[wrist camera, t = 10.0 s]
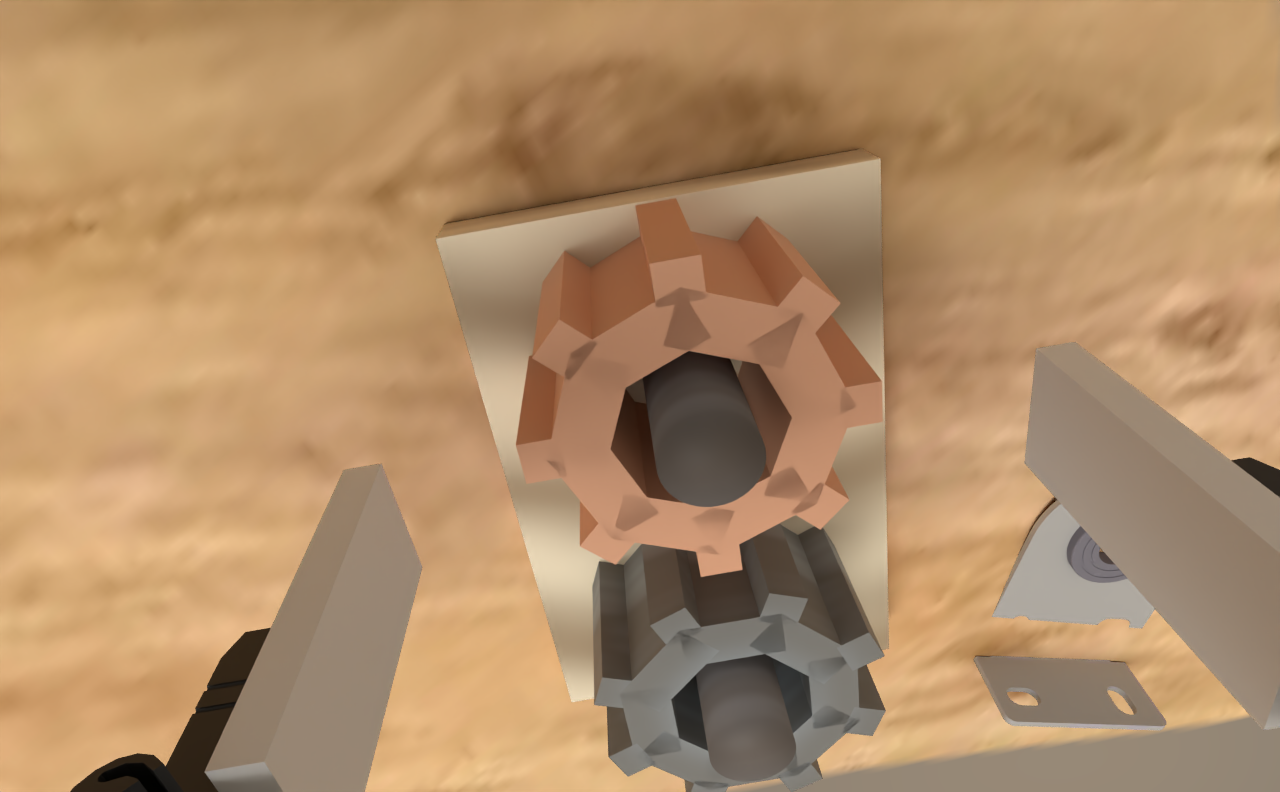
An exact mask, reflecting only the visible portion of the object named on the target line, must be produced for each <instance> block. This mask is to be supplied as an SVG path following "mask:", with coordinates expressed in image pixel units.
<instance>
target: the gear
mask: <svg viewBox="0 0 1280 792" xmlns="http://www.w3.org/2000/svg"><path fill="white" fill-rule="evenodd" d="M635 208H636V214H637V220H638V226H639V232H640V237H638V238H637V239H635V240H633V241H632V242H630V243H629V244H627V245H625V246H624V247H622V248H621V249H619V250H618V251H616V252H614V253H613V254H611V255H610V256H608V257H606V258H605V259H603V260H602V261H600V262H598V263H597V264H595V265H594V266H592V267H588V266H587V265H585V264H584V263H582V262H581V261H579V260H578V259H576V258H575V257H573V256H572V255H570V254H569V253H567V252H566V251H564V252H563V253H562V255H561V256H560V258H559V259H558V261H557V262H556V264H555V265H554V266H553V268H552V269H551V271H550V272H549V274H548V275H547V277H546V278H545V280H544V281H543V283H542V290H541V297H540V304H539V311H538V318H537V326H536V333H535V340H534V347H533V354H532V356H529V359H528V365H527V372H526V379H525V386H524V392H523V399H522V406H521V413H520V419H519V426H518V433H517V440H516V448H517V452H518V455H519V459H520V463H521V466H522V470H523V473H524V477H525V480H526V484H530V483H535V482H541V481H547V480H553V479H558V478H562V479H563V481H564V482H565V483H566V484H567V485H568V487H569V488H570V489H571V490H572V491H573V493H574V494H575V495H576V496H577V498H578V499H579V500H580V547H582V548H584V549H586V550H588V551H590V552H591V553H593V554H595V555H597V556H599V557H601V558H603V559H605V560H607V561H609V562H611V563H613V564H615V565H616V564H617V563H618V562H619V560H620V559H621V558H622V557H623V556H624V555H625V553H626V552H627V551H628V550H629V549H630V548H631V546H632V545H633V544H634V543H641V544H647V545H654V546H661V547H668V548H675V549H682V550H688V551H695V552H696V555H697V560H698V565H699V570H700V575H701V577H704V576H710V575H715V574H721V573H727V572H733V571H739V570H742V562H741V555H740V547H739V544H741V543H743V542H745V541H747V540H749V539H750V538H752V537H754V536H756V535H758V534H760V533H762V532H764V531H766V530H768V529H770V528H772V527H773V526H775V525H777V524H779V523H781V522H783V521H785V520H787V519H789V518H791V517H793V516H795V515H797V516H798V517H800V518H802V519H803V520H805V521H807V522H808V523H810V524H812V525H813V526H815V527H817V528H818V529H820V530H821V529H822V528H823V527H824V526H825V525H826V524H827V523H828V522H829V520H830V519H831V518H832V517H833V516H834V515H835V514H836V513H837V512H838V511H839V510H840V509H841V508H842V507H843V506H844V505H845V504H846V503H847V502H848V501H849V498H848V496H847V494H846V492H845V490H844V488H843V486H842V484H841V482H840V481H839V479H838V477H837V475H836V473H835V471H834V469H833V467H832V465H833V462H834V460H835V457H836V455H837V452H838V450H839V448H840V445H841V443H842V440H843V438H844V435H845V433H846V430H847V428H851V427H856V426H862V425H868V424H874V423H879V422H883V410H882V381H881V379H880V378H879V377H878V375H877V374H876V373H875V371H874V370H873V369H872V367H871V366H870V365H869V364H868V362H867V361H866V360H865V358H864V357H863V356H862V354H861V353H860V352H859V350H858V349H857V348H856V347H855V345H854V344H853V343H852V341H851V340H850V339H849V337H848V336H847V335H846V334H845V332H844V331H843V330H842V328H841V327H840V326H839V324H838V323H837V322H836V320H835V319H834V318H833V317H832V315H831V314H832V313H833V312H834V311H835V310H836V308H837V307H838V306H839V305H840V304H841V303H840V302H839V301H838V299H837V298H836V297H835V296H834V295H833V293H832V292H831V291H830V290H829V288H828V287H827V286H826V285H825V284H824V282H823V281H822V280H821V279H820V278H819V276H818V275H817V274H816V273H815V271H814V270H813V269H812V268H811V267H810V265H809V264H808V263H807V262H806V261H805V259H804V258H803V257H802V256H801V254H800V253H799V252H798V251H797V250H796V248H795V247H794V246H793V245H792V244H791V242H790V241H789V240H788V239H787V238H786V237H785V236H783V235H782V234H780V233H779V232H778V231H776V230H775V229H774V228H772V227H771V226H770V225H768V224H767V223H766V222H764V221H763V220H762V219H760V218H759V217H758V216H757V217H756V218H755V219H754V221H753V222H752V223H751V224H750V226H749V227H748V228H747V230H746V231H745V232H744V233H743V235H742V236H741V237H740V239H739V240H738V241H734V240H729V239H724V238H720V237H715V236H710V235H706V234H701V233H696V232H692V231H690V228H689V226H688V224H687V222H686V220H685V217H684V215H683V213H682V211H681V208H680V206H679V204H678V202H677V199H676V198H673V199H668V200H662V201H657V202H651V203H646V204H640V205H635ZM688 351H692V352H698V353H703V354H708V355H714V356H719V357H724V358H729V359H735V360H740V361H742V365H741V368H740V371H739V374H738V379H739V382H740V384H741V387H742V389H743V392H744V394H745V397H746V399H747V402H748V404H749V407H750V409H751V412H752V414H753V417H754V419H755V422H756V424H757V427H758V429H759V432H760V434H761V437H762V439H763V442H764V445H765V449H766V464H765V468H764V471H763V473H762V475H761V477H760V479H759V480H758V482H757V483H756V485H755V486H754V487H753V488H752V489H751V490H750V491H749V492H748V493H746V494H745V495H744V496H742V497H740V498H739V499H737V500H735V501H733V502H731V503H728V504H725V505H720V506H714V507H699V506H693V505H689V504H686V503H684V502H682V501H679V500H678V499H676V498H675V497H673V496H672V495H671V494H670V493H668V492H667V490H666V489H665V488H664V487H663V485H662V484H661V482H660V479H659V477H658V474H657V469H656V462H655V456H654V449H653V443H652V436H651V430H650V423H649V417H648V410H647V404H645V403H639V402H635V401H634V400H633V398H632V397H631V396H630V394H629V393H628V391H627V390H626V387H628V386H630V385H631V384H633V383H635V382H636V381H638V380H640V379H642V378H643V377H645V376H647V375H648V374H650V373H652V372H653V371H655V370H657V369H659V368H660V367H662V366H664V365H665V364H667V363H669V362H671V361H672V360H674V359H676V358H677V357H679V356H681V355H682V354H684V353H686V352H688Z"/></svg>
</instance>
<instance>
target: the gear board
mask: <svg viewBox="0 0 1280 792" xmlns="http://www.w3.org/2000/svg"><path fill="white" fill-rule="evenodd" d="M673 198H676V199H677V202H678V204H679V206H680V208H681V211H682V213H683V215H684V217H685V220H686V222H687V224H688V226H689V228H690V231H692V232H696V233H701V234H706V235H710V236H715V237H720V238H724V239H729V240H734V241H738V240H739V239H740V237H741V236H742V235H743V233H744V232H745V231H746V230H747V228H748V227H749V226H750V224H751V223H752V222H753V221H754V219H755V218H756V217H757V216H758V217H759V218H760V219H762V220H763V221H764V222H766V223H767V224H768V225H770V226H771V227H772V228H774V229H775V230H776V231H778V232H779V233H780V234H782V235H783V236H785V237H786V238H787V239H788V240H789V241H790V242H791V244H792V245H793V246H794V247H795V248H796V250H797V251H798V252H799V253H800V254H801V256H802V257H803V258H804V259H805V261H806V262H807V263H808V264H809V265H810V267H811V268H812V269H813V270H814V271H815V273H816V274H817V275H818V276H819V278H820V279H821V280H822V281H823V282H824V284H825V285H826V286H827V287H828V288H829V290H830V291H831V292H832V293H833V295H834V296H835V297H836V298H837V299H838V301H839V302H840V303H841V304H840V305H839V306H838V307H837V308H836V310H835V311H834V312H833V313H832V314H831V315H832V317H833V318H834V319H835V320H836V322H837V323H838V324H839V326H840V327H841V328H842V330H843V331H844V332H845V334H846V335H847V336H848V337H849V339H850V340H851V341H852V343H853V344H854V345H855V347H856V348H857V349H858V350H859V352H860V353H861V354H862V356H863V357H864V358H865V360H866V361H867V362H868V364H869V365H870V366H871V367H872V369H873V370H874V371H875V373H876V374H877V375H878V377H879V378H880V379H881V381H882V410H883V422H879V423H874V424H868V425H862V426H856V427H851V428H847V430H846V433H845V435H844V438H843V440H842V443H841V445H840V448H839V450H838V452H837V455H836V457H835V460H834V462H833V465H832V467H833V469H834V471H835V473H836V475H837V477H838V479H839V481H840V482H841V484H842V486H843V488H844V490H845V492H846V494H847V496H848V498H849V501H848V502H847V503H846V504H845V505H844V506H843V507H842V508H841V509H840V510H839V511H838V512H837V513H836V514H835V515H834V516H833V517H832V518H831V519H830V520H829V522H828V523H827V524H826V525H825V526H824V527H823V528H822V529H821V530H820V529H818V528H817V527H815V526H813V525H812V524H810V523H808V522H807V521H805V520H803V519H802V518H800V517H798V516H797V515H795V516H793V517H791V518H789V519H787V520H785V521H783V522H781V523H779V524H777V525H775V526H773V527H772V528H770V529H768V530H766V531H764V532H762V533H760V534H758V535H756V536H754V537H752V538H750V539H749V540H747V541H745V542H743V543H741V544H739V547H740V555H741V562H742V570H739V571H733V572H727V573H721V574H715V575H710V576H704V577H701V575H700V570H699V565H698V560H697V555H696V552H695V551H688V550H682V549H675V548H668V547H661V546H654V545H647V544H641V543H634V544H633V545H632V546H631V548H630V549H629V550H628V551H627V552H626V553H625V555H624V556H623V557H622V558H621V559H620V560H619V562H618V563H617V564H616V565H615V564H613V563H611V562H609V561H607V560H605V559H603V558H601V557H599V556H597V555H595V554H593V553H591V552H590V551H588V550H586V549H584V548H582V547H580V500H579V499H578V498H577V496H576V495H575V494H574V493H573V491H572V490H571V489H570V488H569V487H568V485H567V484H566V483H565V482H564V481H563V479H562V478H558V479H553V480H547V481H541V482H535V483H530V484H526V480H525V477H524V473H523V470H522V466H521V463H520V459H519V455H518V452H517V448H516V440H517V433H518V426H519V419H520V413H521V406H522V399H523V392H524V386H525V379H526V372H527V365H528V359H529V356H532V354H533V347H534V340H535V333H536V326H537V318H538V311H539V304H540V297H541V290H542V283H543V281H544V280H545V278H546V277H547V275H548V274H549V272H550V271H551V269H552V268H553V266H554V265H555V264H556V262H557V261H558V259H559V258H560V256H561V255H562V253H563V252H564V251H566V252H567V253H569V254H570V255H572V256H573V257H575V258H576V259H578V260H579V261H581V262H582V263H584V264H585V265H587V266H588V267H592V266H594V265H595V264H597V263H598V262H600V261H602V260H603V259H605V258H606V257H608V256H610V255H611V254H613V253H614V252H616V251H618V250H619V249H621V248H622V247H624V246H625V245H627V244H629V243H630V242H632V241H633V240H635V239H637V238H638V237H640V232H639V226H638V220H637V214H636V208H635V205H640V204H646V203H651V202H657V201H662V200H668V199H673ZM436 242H437V246H438V249H439V253H440V256H441V259H442V263H443V266H444V270H445V273H446V276H447V280H448V283H449V287H450V290H451V293H452V297H453V300H454V304H455V307H456V310H457V314H458V317H459V321H460V324H461V327H462V331H463V334H464V338H465V341H466V344H467V348H468V351H469V355H470V358H471V361H472V365H473V368H474V372H475V375H476V378H477V382H478V385H479V389H480V392H481V395H482V399H483V402H484V406H485V409H486V412H487V416H488V419H489V423H490V426H491V429H492V433H493V436H494V440H495V443H496V446H497V450H498V453H499V457H500V460H501V463H502V467H503V470H504V474H505V477H506V480H507V484H508V487H509V491H510V494H511V497H512V501H513V504H514V508H515V511H516V514H517V518H518V521H519V525H520V528H521V531H522V535H523V538H524V542H525V545H526V548H527V552H528V555H529V559H530V562H531V565H532V569H533V572H534V576H535V579H536V582H537V586H538V589H539V593H540V596H541V599H542V603H543V606H544V610H545V613H546V616H547V620H548V623H549V627H550V630H551V633H552V637H553V640H554V644H555V647H556V650H557V654H558V657H559V661H560V664H561V667H562V671H563V674H564V678H565V681H566V684H567V688H568V691H569V695H570V698H571V701H572V702H576V701H582V700H588V699H593V698H594V705H599V706H607V725H608V755H609V758H610V759H611V760H612V761H613V762H614V763H615V764H616V765H617V766H618V767H619V768H620V769H621V770H622V771H623V772H624V773H625V774H626V775H627V776H631V775H633V774H635V773H637V772H639V771H641V770H643V769H645V768H648V767H650V766H654V767H657V768H659V769H661V770H664V771H666V772H668V773H671V774H673V775H675V776H678V777H680V778H682V779H684V780H685V788H686V792H726V790H727V788H728V787H730V786H736V785H742V784H748V783H754V782H760V781H766V780H772V779H778V778H780V779H781V781H782V782H783V783H784V784H785V785H786V786H787V788H788V789H789V790H790V791H791V792H794V791H796V790H798V789H800V788H803V787H805V786H807V785H809V784H812V783H814V782H816V781H818V780H821V779H823V778H822V775H821V771H820V768H819V765H818V761H817V758H819V757H820V756H821V755H822V754H823V753H824V752H825V751H827V750H828V749H829V748H830V747H831V746H832V745H833V744H834V743H836V742H837V741H838V740H839V739H840V738H841V737H842V736H844V735H845V734H846V733H851V734H860V735H869V736H873V734H874V732H875V730H876V728H877V726H878V724H879V723H880V721H881V719H882V717H883V715H884V713H885V711H886V710H885V708H884V705H883V703H882V701H881V698H880V696H879V694H878V691H877V689H876V686H875V684H874V682H873V679H872V677H871V675H870V672H869V670H868V667H867V664H869V663H871V662H873V661H875V660H877V659H879V658H881V657H884V654H883V651H882V650H884V649H889V622H888V563H887V505H886V446H885V387H884V329H883V270H882V211H881V159H880V158H878V157H877V156H875V155H873V154H871V153H870V152H868V151H866V150H864V149H857V150H852V151H846V152H840V153H835V154H829V155H824V156H818V157H813V158H807V159H802V160H796V161H791V162H785V163H779V164H774V165H768V166H763V167H757V168H752V169H746V170H741V171H735V172H730V173H724V174H719V175H713V176H707V177H702V178H696V179H691V180H685V181H680V182H674V183H669V184H663V185H658V186H652V187H646V188H641V189H635V190H630V191H624V192H619V193H613V194H608V195H602V196H597V197H591V198H585V199H580V200H574V201H569V202H563V203H558V204H552V205H547V206H541V207H536V208H530V209H524V210H519V211H513V212H508V213H502V214H497V215H491V216H486V217H480V218H475V219H469V220H463V221H458V222H452V223H447V224H444V225H443V227H442V229H441V230H440V232H439V234H438V235H437V237H436ZM741 365H742V361H740V360H735V359H729V358H724V357H719V356H714V355H708V354H703V353H698V352H692V351H688V352H686V353H684V354H682V355H681V356H679V357H677V358H676V359H674V360H672V361H671V362H669V363H667V364H665V365H664V366H662V367H660V368H659V369H657V370H655V371H653V372H652V373H650V374H648V375H647V376H645V377H643V378H642V379H640V380H638V381H636V382H635V383H633V384H631V385H630V386H628V387H626V390H627V391H628V393H629V394H630V396H631V397H632V398H633V400H634V401H635V402H639V403H645V404H647V410H648V417H649V423H650V430H651V436H652V443H653V449H654V456H655V462H656V469H657V474H658V477H659V479H660V482H661V484H662V485H663V487H664V488H665V489H666V490H667V492H668V493H670V494H671V495H672V496H673V497H675V498H676V499H678V500H679V501H682V502H684V503H686V504H689V505H693V506H699V507H714V506H720V505H725V504H728V503H731V502H733V501H735V500H737V499H739V498H740V497H742V496H744V495H745V494H746V493H748V492H749V491H750V490H751V489H752V488H753V487H754V486H755V485H756V483H757V482H758V480H759V479H760V477H761V475H762V473H763V471H764V468H765V464H766V449H765V445H764V442H763V439H762V437H761V434H760V432H759V429H758V427H757V424H756V422H755V419H754V417H753V414H752V412H751V409H750V407H749V404H748V402H747V399H746V397H745V394H744V392H743V389H742V387H741V384H740V382H739V379H738V374H739V371H740V368H741Z"/></svg>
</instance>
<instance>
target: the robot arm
mask: <svg viewBox="0 0 1280 792" xmlns="http://www.w3.org/2000/svg"><path fill="white" fill-rule="evenodd" d="M1025 464H1026V465H1027V466H1028V468H1029V469H1030V470H1031V471H1032V472H1033V473H1034V474H1035V475H1036V476H1037V478H1038V479H1039V480H1040V481H1041V482H1042V483H1043V484H1044V485H1045V487H1046V488H1047V489H1048V490H1049V491H1050V492H1051V493H1052V494H1053V495H1054V497H1055V498H1056V499H1057V500H1058V501H1059V502H1060V503H1061V504H1062V506H1063V507H1064V508H1065V509H1066V510H1067V511H1068V512H1069V513H1070V515H1071V516H1072V517H1073V518H1074V519H1075V520H1076V521H1077V522H1078V523H1079V525H1080V526H1081V527H1082V528H1083V529H1084V530H1085V531H1086V532H1087V534H1088V535H1089V536H1090V537H1091V538H1092V539H1093V540H1094V541H1095V542H1096V544H1097V545H1098V546H1099V547H1100V548H1101V549H1102V550H1103V551H1104V553H1105V554H1106V555H1107V556H1108V557H1109V558H1110V559H1111V560H1112V561H1113V563H1114V564H1115V565H1116V566H1117V567H1118V568H1119V569H1120V570H1121V572H1122V573H1123V574H1124V575H1125V576H1126V577H1127V578H1128V579H1129V580H1130V582H1131V583H1132V584H1133V585H1134V586H1135V587H1136V588H1137V589H1138V591H1139V592H1140V593H1141V594H1142V595H1143V596H1144V597H1145V598H1146V599H1147V601H1148V602H1149V603H1150V604H1151V605H1152V606H1153V607H1154V608H1155V610H1156V611H1157V612H1158V613H1159V614H1160V615H1161V616H1162V617H1163V618H1164V620H1165V621H1166V622H1167V623H1168V624H1169V625H1170V626H1171V627H1172V629H1173V630H1174V631H1175V632H1176V633H1177V634H1178V635H1179V636H1180V637H1181V639H1182V640H1183V641H1184V642H1185V643H1186V644H1187V645H1188V646H1189V648H1190V649H1191V650H1192V651H1193V652H1194V653H1195V654H1196V655H1197V656H1198V658H1199V659H1200V660H1201V661H1202V662H1203V663H1204V664H1205V665H1206V667H1207V668H1208V669H1209V670H1210V671H1211V672H1212V673H1213V674H1214V675H1215V677H1216V678H1217V679H1218V680H1219V681H1220V682H1221V683H1222V684H1223V686H1224V687H1225V688H1226V689H1227V690H1228V691H1229V692H1230V693H1231V695H1232V696H1233V697H1234V698H1235V699H1236V700H1237V701H1238V702H1239V703H1240V705H1241V706H1242V707H1243V708H1244V709H1245V710H1246V711H1247V712H1248V714H1249V715H1250V716H1251V717H1252V718H1253V719H1254V720H1255V721H1256V722H1257V724H1258V725H1259V726H1260V727H1261V728H1262V729H1263V730H1268V729H1273V728H1280V470H1279V469H1276V468H1274V467H1271V466H1269V465H1267V464H1264V463H1262V462H1260V461H1257V460H1255V459H1252V458H1250V457H1249V458H1243V459H1237V460H1232V461H1231V460H1230V459H1228V458H1227V457H1226V456H1224V455H1223V454H1222V453H1221V452H1219V451H1218V450H1217V449H1215V448H1214V447H1213V446H1211V445H1210V444H1209V443H1207V442H1206V441H1205V440H1203V439H1202V438H1201V437H1199V436H1198V435H1197V434H1196V433H1194V432H1193V431H1192V430H1190V429H1189V428H1188V427H1186V426H1185V425H1184V424H1182V423H1181V422H1180V421H1178V420H1177V419H1176V418H1174V417H1173V416H1172V415H1171V414H1169V413H1168V412H1167V411H1165V410H1164V409H1163V408H1161V407H1160V406H1159V405H1157V404H1156V403H1155V402H1153V401H1152V400H1151V399H1150V398H1148V397H1147V396H1146V395H1144V394H1143V393H1142V392H1140V391H1139V390H1138V389H1136V388H1135V387H1134V386H1132V385H1131V384H1130V383H1128V382H1127V381H1126V380H1125V379H1123V378H1122V377H1121V376H1119V375H1118V374H1117V373H1115V372H1114V371H1113V370H1111V369H1110V368H1109V367H1107V366H1106V365H1105V364H1104V363H1102V362H1101V361H1100V360H1098V359H1097V358H1096V357H1094V356H1093V355H1092V354H1090V353H1089V352H1088V351H1086V350H1085V349H1084V348H1082V347H1081V346H1080V345H1079V344H1077V343H1076V342H1071V343H1065V344H1059V345H1054V346H1048V347H1042V348H1037V349H1036V355H1035V365H1034V375H1033V384H1032V394H1031V404H1030V414H1029V424H1028V434H1027V444H1026V453H1025ZM421 571H422V565H421V563H420V560H419V557H418V555H417V552H416V550H415V547H414V545H413V542H412V540H411V537H410V535H409V532H408V530H407V527H406V525H405V522H404V520H403V517H402V514H401V512H400V509H399V507H398V504H397V502H396V499H395V497H394V494H393V492H392V489H391V487H390V484H389V482H388V479H387V477H386V474H385V471H384V469H383V466H382V464H375V465H370V466H364V467H358V468H352V469H347V470H343V473H342V475H341V477H340V479H339V481H338V483H337V486H336V488H335V490H334V492H333V494H332V496H331V499H330V501H329V503H328V505H327V507H326V509H325V512H324V514H323V516H322V518H321V520H320V522H319V525H318V527H317V529H316V531H315V533H314V535H313V538H312V540H311V542H310V544H309V546H308V548H307V551H306V553H305V555H304V557H303V559H302V561H301V564H300V566H299V568H298V570H297V572H296V574H295V577H294V579H293V581H292V583H291V585H290V587H289V590H288V592H287V594H286V596H285V598H284V600H283V603H282V605H281V607H280V609H279V611H278V613H277V616H276V618H275V620H274V622H273V624H272V626H271V628H267V629H261V630H255V631H250V632H245V633H244V634H243V635H242V636H241V638H240V639H239V640H238V641H237V642H236V643H235V644H234V645H233V646H232V647H231V648H230V649H229V650H228V651H227V653H226V654H225V655H224V656H223V657H222V658H221V660H220V661H219V663H218V665H217V667H216V669H215V671H214V673H213V675H212V677H211V679H210V681H209V683H208V685H207V691H204V693H203V695H202V697H201V699H200V700H199V702H198V704H197V706H196V708H195V709H196V713H195V714H192V716H191V718H190V720H189V722H188V724H187V726H186V728H185V730H184V732H183V734H182V736H181V738H180V739H179V741H178V743H177V745H176V747H175V749H174V751H173V753H172V755H171V757H170V759H169V761H168V763H167V765H166V767H165V765H164V764H163V763H162V762H161V761H160V760H159V759H158V758H156V757H155V756H154V755H148V754H134V755H130V756H126V757H122V758H118V759H116V760H114V761H112V762H110V763H108V764H106V765H105V766H103V767H101V768H99V769H97V770H95V771H94V772H93V773H91V774H90V775H89V776H87V777H86V778H85V779H84V780H82V781H81V782H80V783H79V784H77V785H76V786H75V787H74V788H73V789H72V790H71V791H70V792H365V788H366V785H367V781H368V777H369V773H370V769H371V765H372V761H373V757H374V753H375V750H376V746H377V742H378V738H379V734H380V730H381V726H382V722H383V718H384V715H385V711H386V707H387V703H388V699H389V695H390V691H391V687H392V683H393V679H394V676H395V672H396V668H397V664H398V660H399V656H400V652H401V648H402V644H403V641H404V637H405V633H406V629H407V625H408V621H409V617H410V613H411V609H412V606H413V602H414V598H415V594H416V590H417V586H418V582H419V578H420V574H421Z"/></svg>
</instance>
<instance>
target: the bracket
mask: <svg viewBox="0 0 1280 792" xmlns="http://www.w3.org/2000/svg"><path fill="white" fill-rule="evenodd" d="M1099 551H1100V547H1099V546H1098V545H1097V544H1096V542H1095V541H1094V540H1093V539H1092V538H1091V537H1090V536H1089V535H1088V534H1087V532H1086V531H1085V530H1084V529H1083V528H1082V527H1081V526H1080V525H1079V523H1078V522H1077V521H1076V520H1075V519H1074V518H1073V517H1072V516H1071V515H1070V513H1069V512H1068V511H1067V510H1066V509H1065V508H1064V507H1063V506H1062V504H1061V503H1060V502H1059V501H1058V500H1056V501H1055V502H1054V503H1053V504H1052V505H1050V507H1049V508H1048V509H1047V510H1046V511H1045V512H1044V513H1043V514H1042V515H1041V516H1040V518H1039V519H1038V520H1037V521H1036V523H1035V524H1034V526H1033V528H1032V529H1031V531H1030V533H1029V535H1028V537H1027V539H1026V541H1025V543H1024V545H1023V547H1022V549H1021V551H1020V553H1019V555H1018V557H1017V559H1016V561H1015V564H1014V566H1013V568H1012V571H1011V573H1010V576H1009V578H1008V580H1007V583H1006V585H1005V587H1004V590H1003V592H1002V594H1001V597H1000V599H999V601H998V604H997V606H996V608H995V611H994V613H993V616H992V617H1001V618H1015V617H1018V616H1025V617H1027V618H1028V619H1029V620H1040V621H1053V622H1066V623H1079V624H1092V625H1098V624H1099V623H1100V622H1101V621H1103V620H1105V619H1126V620H1128V621H1129V622H1130V625H1129V627H1131V628H1143V626H1144V625H1145V623H1146V622H1147V620H1148V619H1149V617H1150V616H1151V614H1152V613H1153V611H1154V610H1155V608H1154V607H1153V606H1152V605H1151V604H1150V603H1149V602H1148V601H1147V599H1146V598H1145V597H1144V596H1143V595H1142V594H1141V593H1140V592H1139V591H1138V589H1137V588H1136V587H1135V586H1134V585H1133V584H1132V583H1131V582H1130V580H1129V579H1128V578H1127V577H1126V576H1125V575H1124V574H1123V573H1122V572H1121V570H1120V569H1119V568H1118V567H1117V566H1116V565H1115V564H1114V563H1113V561H1112V560H1111V559H1110V558H1109V557H1108V556H1107V555H1106V554H1105V553H1104V552H1099ZM974 662H975V664H976V666H977V668H978V670H979V672H980V674H981V676H982V678H983V680H984V681H985V683H986V685H987V687H988V689H989V691H990V693H991V695H992V697H993V699H994V701H995V703H996V705H997V707H998V709H999V711H1000V713H1001V715H1002V717H1003V719H1004V720H1005V721H1006V722H1007V723H1008V724H1010V725H1013V726H1038V727H1070V728H1102V729H1134V730H1162V729H1163V728H1164V727H1165V725H1166V720H1165V719H1164V717H1163V716H1162V714H1161V713H1160V712H1159V710H1158V709H1157V707H1156V706H1155V704H1154V703H1153V702H1152V700H1151V699H1150V697H1149V696H1148V695H1147V693H1146V692H1145V690H1144V689H1143V687H1142V686H1141V685H1140V683H1139V682H1138V680H1137V679H1136V678H1135V676H1134V675H1133V673H1132V672H1131V670H1130V669H1129V668H1128V666H1127V665H1126V663H1125V662H1110V660H1086V659H1059V658H1033V657H1006V656H991V657H981V656H976V657H975V658H974ZM1107 690H1112V691H1115V692H1117V693H1119V694H1120V695H1121V696H1122V697H1123V698H1124V699H1125V700H1126V702H1127V703H1128V705H1129V706H1130V708H1131V709H1132V711H1133V713H1134V715H1129V714H1126V713H1124V712H1122V711H1121V710H1119V709H1118V708H1117V707H1116V705H1115V704H1114V702H1113V701H1112V699H1111V698H1110V696H1109V695H1108V693H1107ZM1010 691H1013V692H1026V693H1029V694H1030V695H1032V696H1033V697H1034V698H1035V699H1036V700H1037V702H1038V706H1023V705H1018V704H1016V703H1014V702H1013V701H1012V700H1011V699H1010V698H1009V697H1008V695H1007V692H1010Z"/></svg>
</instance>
